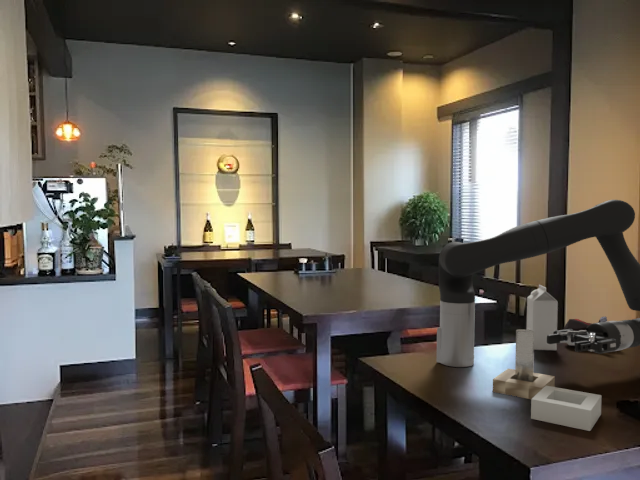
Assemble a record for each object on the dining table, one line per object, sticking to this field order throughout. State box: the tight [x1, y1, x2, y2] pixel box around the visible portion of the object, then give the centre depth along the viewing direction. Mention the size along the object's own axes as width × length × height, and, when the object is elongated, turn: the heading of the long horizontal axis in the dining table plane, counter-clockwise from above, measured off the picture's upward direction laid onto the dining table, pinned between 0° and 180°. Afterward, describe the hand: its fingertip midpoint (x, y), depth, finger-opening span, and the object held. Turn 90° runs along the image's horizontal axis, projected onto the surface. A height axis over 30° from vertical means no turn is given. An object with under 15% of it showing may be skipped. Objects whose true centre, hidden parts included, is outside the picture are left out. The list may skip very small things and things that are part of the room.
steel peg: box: [514, 328, 535, 382], centre depth 132 cm, size 4×4×14 cm
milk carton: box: [526, 284, 559, 351], centre depth 173 cm, size 7×7×19 cm
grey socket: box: [530, 386, 602, 432], centre depth 116 cm, size 11×11×4 cm
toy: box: [563, 316, 608, 347], centre depth 175 cm, size 12×9×15 cm
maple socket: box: [492, 368, 556, 400], centre depth 133 cm, size 11×11×3 cm
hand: (561, 343), depth 137 cm, fingers open, 8 cm apart
